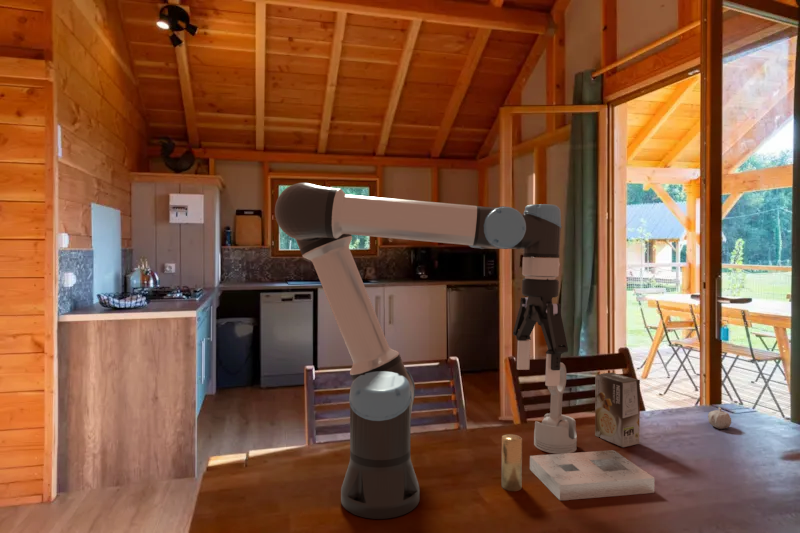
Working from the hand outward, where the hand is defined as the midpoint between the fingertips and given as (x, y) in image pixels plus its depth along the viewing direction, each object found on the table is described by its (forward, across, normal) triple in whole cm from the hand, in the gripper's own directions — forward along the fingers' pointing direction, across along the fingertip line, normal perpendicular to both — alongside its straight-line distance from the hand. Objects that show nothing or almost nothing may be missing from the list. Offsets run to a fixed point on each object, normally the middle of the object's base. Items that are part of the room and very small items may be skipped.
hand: (536, 377), depth 107 cm
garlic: (+20, +17, -63) cm, 68 cm away
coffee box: (+20, +14, -30) cm, 39 cm away
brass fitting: (+21, -5, +7) cm, 23 cm away
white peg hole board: (+21, -5, -10) cm, 24 cm away
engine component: (+21, +14, -13) cm, 28 cm away
